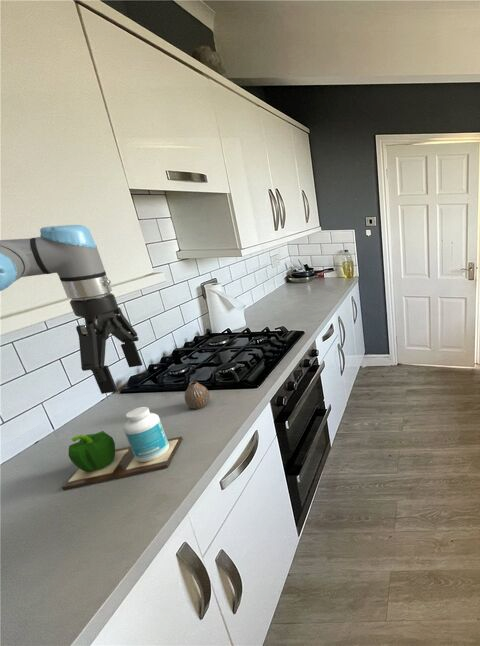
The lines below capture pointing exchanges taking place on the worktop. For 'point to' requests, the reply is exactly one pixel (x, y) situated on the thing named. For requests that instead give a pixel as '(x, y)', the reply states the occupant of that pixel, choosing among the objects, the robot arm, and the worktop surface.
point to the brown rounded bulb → (196, 395)
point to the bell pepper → (92, 451)
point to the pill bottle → (145, 434)
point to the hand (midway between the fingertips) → (123, 378)
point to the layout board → (123, 466)
